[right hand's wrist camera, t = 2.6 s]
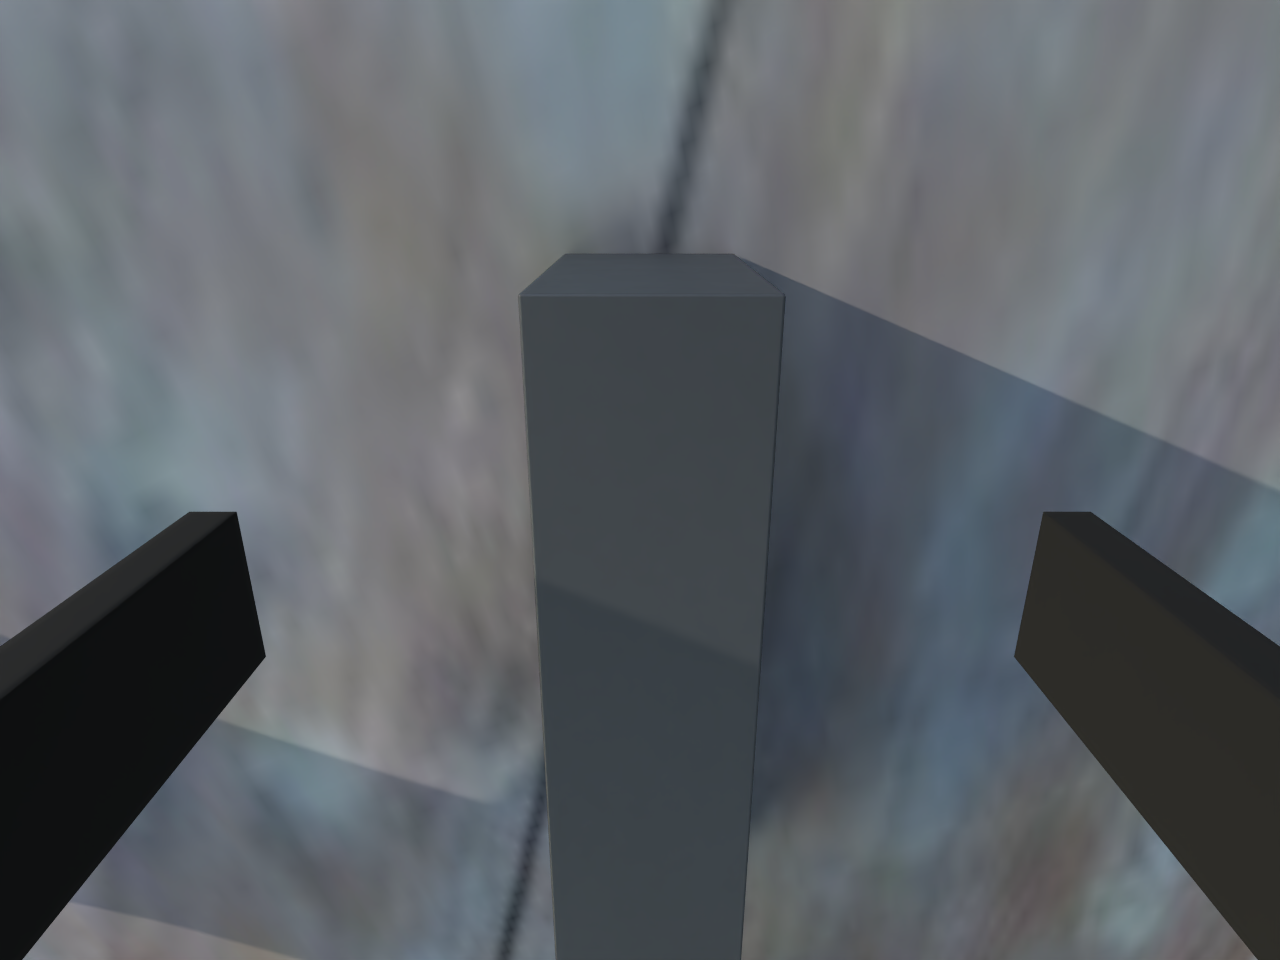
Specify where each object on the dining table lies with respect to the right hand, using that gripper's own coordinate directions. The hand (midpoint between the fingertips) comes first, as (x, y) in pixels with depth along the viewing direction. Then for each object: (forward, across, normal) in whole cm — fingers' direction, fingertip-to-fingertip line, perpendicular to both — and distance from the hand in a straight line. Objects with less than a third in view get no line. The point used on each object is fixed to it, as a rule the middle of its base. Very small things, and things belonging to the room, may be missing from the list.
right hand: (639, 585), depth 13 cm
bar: (+13, 0, -7) cm, 15 cm away
